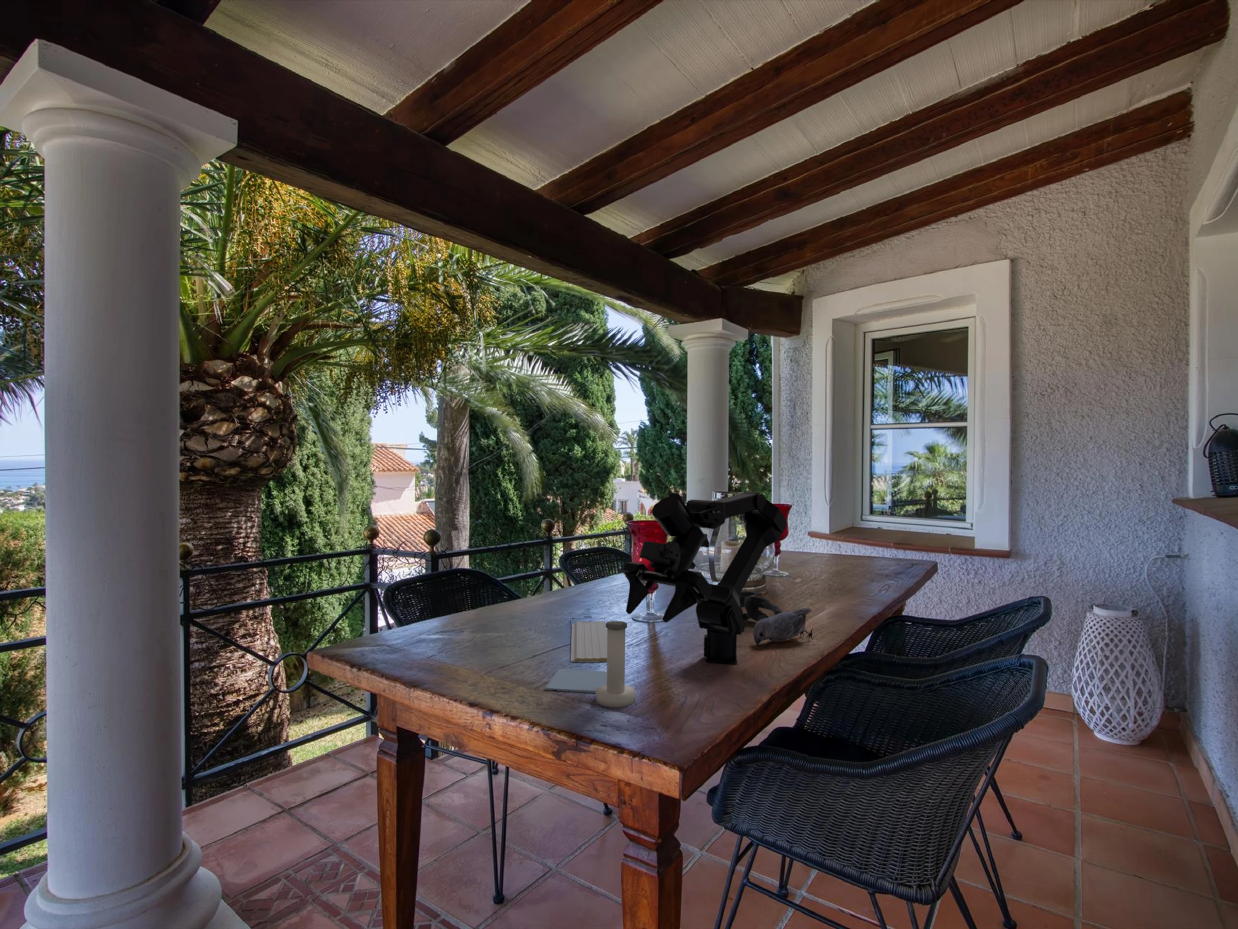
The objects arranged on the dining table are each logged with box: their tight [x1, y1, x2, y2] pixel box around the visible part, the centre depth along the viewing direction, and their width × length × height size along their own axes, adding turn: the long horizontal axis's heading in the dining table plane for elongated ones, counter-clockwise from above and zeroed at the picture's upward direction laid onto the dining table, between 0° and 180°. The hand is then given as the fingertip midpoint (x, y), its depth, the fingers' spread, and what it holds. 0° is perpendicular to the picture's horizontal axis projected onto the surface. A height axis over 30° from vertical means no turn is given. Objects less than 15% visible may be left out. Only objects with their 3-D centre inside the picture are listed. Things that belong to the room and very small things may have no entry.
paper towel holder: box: [595, 620, 636, 708], centre depth 117 cm, size 7×7×14 cm
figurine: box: [739, 589, 784, 622], centre depth 174 cm, size 11×9×30 cm
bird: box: [752, 606, 814, 646], centre depth 155 cm, size 5×16×8 cm, turn 116°
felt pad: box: [544, 668, 607, 694], centre depth 126 cm, size 11×11×1 cm
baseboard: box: [569, 615, 607, 663], centre depth 153 cm, size 30×3×10 cm
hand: (645, 617), depth 123 cm, fingers open, 9 cm apart
